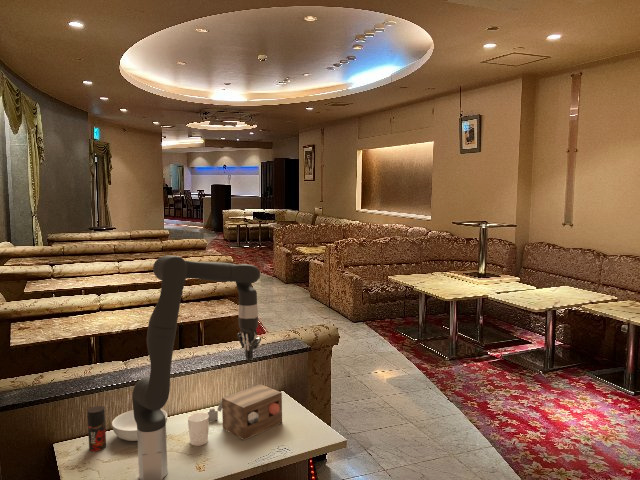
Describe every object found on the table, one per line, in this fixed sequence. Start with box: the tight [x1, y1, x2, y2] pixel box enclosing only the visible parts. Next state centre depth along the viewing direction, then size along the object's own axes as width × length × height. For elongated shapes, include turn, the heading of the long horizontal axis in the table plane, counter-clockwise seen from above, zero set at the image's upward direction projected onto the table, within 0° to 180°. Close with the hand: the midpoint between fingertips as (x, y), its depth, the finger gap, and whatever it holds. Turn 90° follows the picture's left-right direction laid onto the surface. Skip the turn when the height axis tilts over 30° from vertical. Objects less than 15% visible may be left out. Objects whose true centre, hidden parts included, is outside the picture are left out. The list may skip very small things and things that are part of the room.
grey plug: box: [247, 411, 259, 424], centre depth 196 cm, size 10×4×4 cm, turn 47°
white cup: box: [187, 411, 210, 447], centre depth 189 cm, size 8×8×10 cm
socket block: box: [221, 383, 283, 441], centre depth 202 cm, size 14×20×13 cm
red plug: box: [269, 402, 280, 415], centre depth 203 cm, size 10×4×4 cm, turn 47°
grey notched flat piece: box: [206, 399, 222, 422], centre depth 207 cm, size 7×2×8 cm, turn 106°
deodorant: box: [86, 405, 107, 453], centre depth 185 cm, size 6×6×15 cm
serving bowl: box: [111, 408, 168, 442], centre depth 195 cm, size 21×21×7 cm
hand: (249, 358), depth 191 cm, fingers closed
